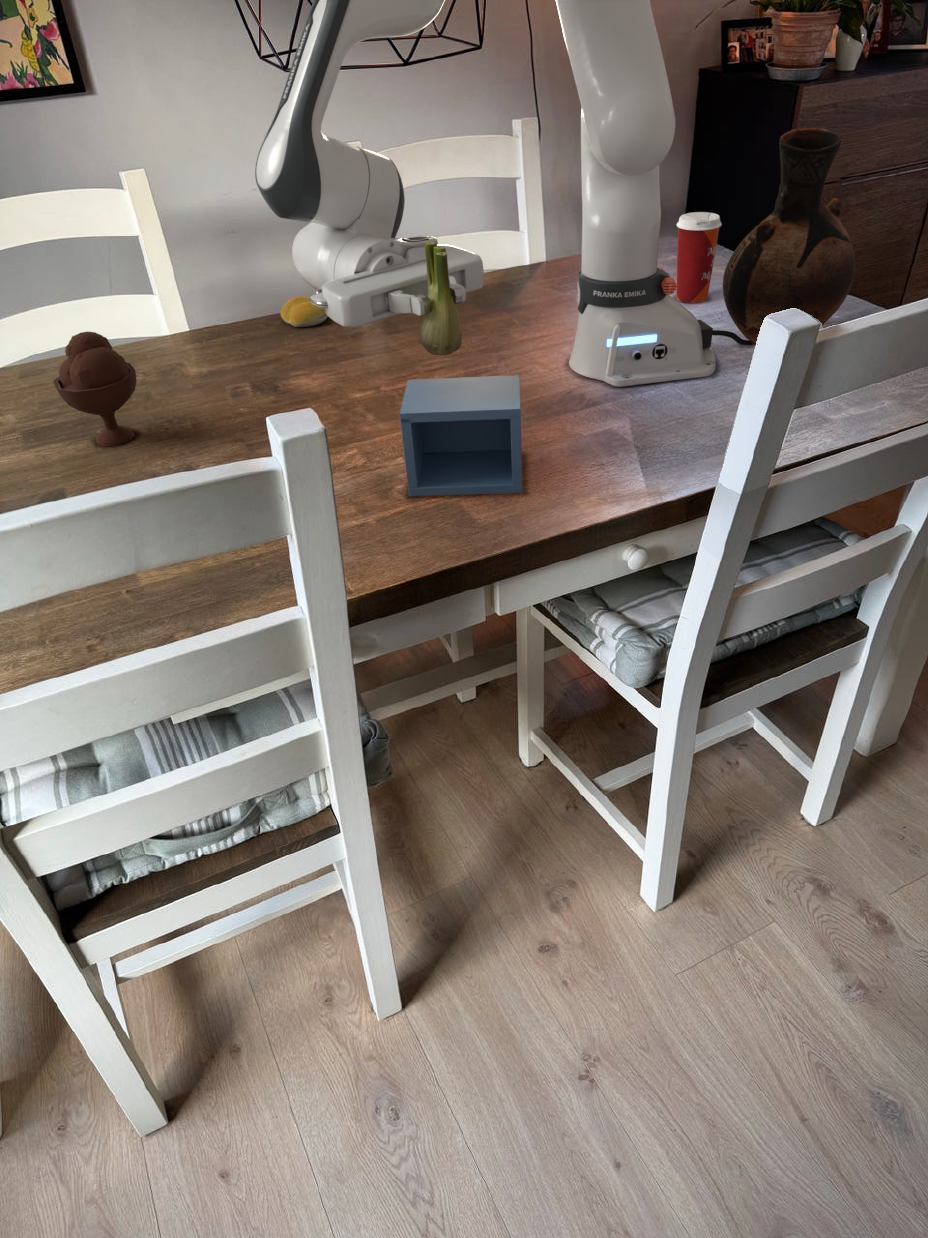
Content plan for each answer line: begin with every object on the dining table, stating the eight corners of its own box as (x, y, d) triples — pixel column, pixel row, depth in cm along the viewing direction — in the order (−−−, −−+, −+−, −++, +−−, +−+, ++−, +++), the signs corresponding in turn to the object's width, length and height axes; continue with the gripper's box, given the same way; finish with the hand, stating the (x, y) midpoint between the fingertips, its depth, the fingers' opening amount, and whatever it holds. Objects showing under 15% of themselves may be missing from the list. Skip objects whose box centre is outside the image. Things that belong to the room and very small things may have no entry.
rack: (521, 455, 113) (519, 374, 106) (522, 493, 105) (520, 408, 98) (416, 458, 114) (407, 379, 107) (409, 496, 106) (399, 413, 99)
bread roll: (301, 331, 156) (297, 309, 154) (276, 320, 162) (271, 299, 159) (338, 319, 160) (335, 297, 158) (312, 309, 166) (309, 288, 163)
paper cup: (717, 303, 154) (727, 220, 146) (674, 306, 155) (681, 223, 146) (708, 290, 160) (717, 209, 152) (666, 292, 161) (673, 212, 152)
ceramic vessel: (790, 312, 148) (824, 114, 130) (868, 342, 136) (918, 127, 117) (691, 337, 142) (712, 132, 123) (763, 371, 129) (799, 148, 111)
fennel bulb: (458, 361, 98) (450, 251, 90) (416, 361, 99) (405, 252, 91) (466, 342, 102) (459, 236, 95) (426, 342, 103) (416, 237, 96)
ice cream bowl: (62, 442, 124) (23, 340, 115) (131, 415, 131) (99, 316, 121) (98, 462, 118) (60, 357, 109) (168, 433, 125) (137, 331, 115)
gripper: (298, 269, 99) (361, 295, 90) (440, 232, 108) (511, 251, 99) (308, 324, 102) (369, 354, 93) (444, 283, 112) (512, 307, 103)
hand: (443, 301), depth 96 cm, fingers closed on fennel bulb, 3 cm apart
